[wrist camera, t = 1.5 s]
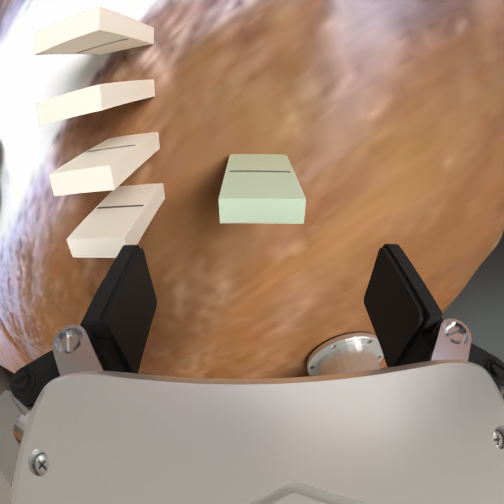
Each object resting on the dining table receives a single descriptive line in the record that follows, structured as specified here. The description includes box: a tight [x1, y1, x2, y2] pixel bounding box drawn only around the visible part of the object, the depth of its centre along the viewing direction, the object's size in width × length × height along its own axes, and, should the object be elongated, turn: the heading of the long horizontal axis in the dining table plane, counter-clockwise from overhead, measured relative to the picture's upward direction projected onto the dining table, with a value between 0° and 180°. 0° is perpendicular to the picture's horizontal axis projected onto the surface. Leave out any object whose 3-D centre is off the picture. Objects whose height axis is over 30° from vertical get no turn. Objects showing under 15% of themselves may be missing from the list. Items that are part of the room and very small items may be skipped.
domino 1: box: [35, 7, 154, 55], centre depth 14 cm, size 2×5×10 cm, turn 90°
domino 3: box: [49, 132, 160, 196], centre depth 19 cm, size 2×5×10 cm, turn 90°
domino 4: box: [67, 183, 165, 258], centre depth 22 cm, size 2×5×10 cm, turn 90°
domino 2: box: [37, 79, 155, 127], centre depth 17 cm, size 2×5×10 cm, turn 90°
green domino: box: [219, 154, 306, 224], centre depth 21 cm, size 2×5×10 cm, turn 90°
